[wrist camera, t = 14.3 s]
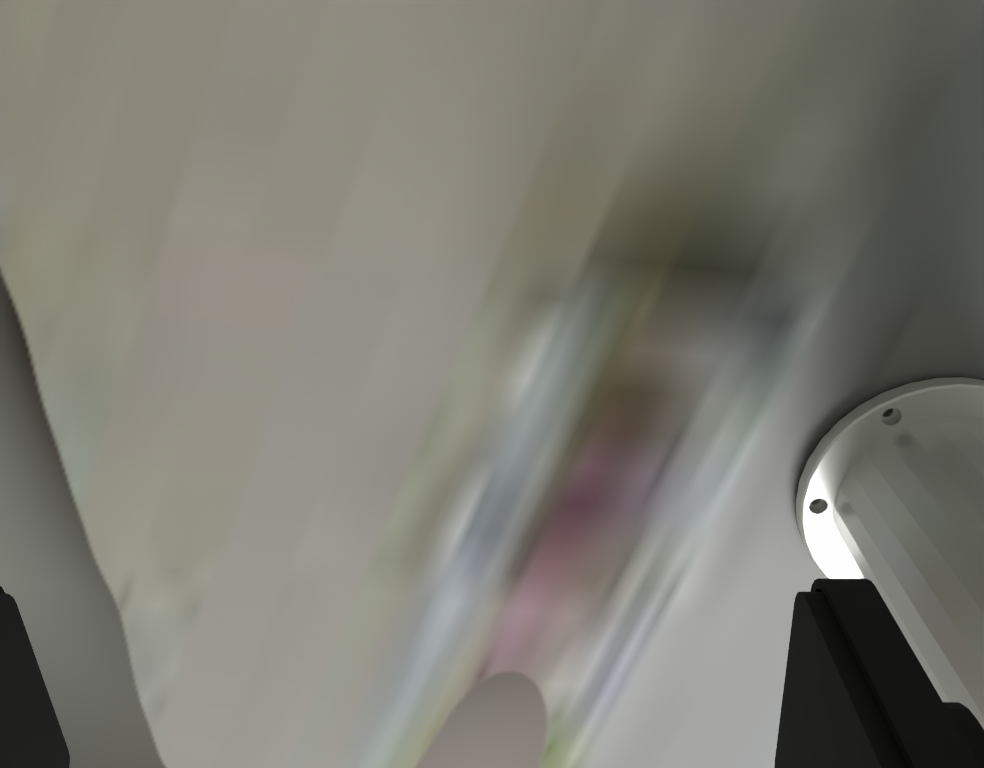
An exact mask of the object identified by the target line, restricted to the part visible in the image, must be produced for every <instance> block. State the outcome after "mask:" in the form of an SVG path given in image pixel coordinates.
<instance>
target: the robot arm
mask: <svg viewBox="0 0 984 768" xmlns="http://www.w3.org/2000/svg"><path fill="white" fill-rule="evenodd" d="M886 410H888V411H886ZM885 411H886V412H885ZM796 516H797V524H798V528H799V531H800V534H801V537H802V541H803V543H804V545H805V547H806V548H807V550H808V552H809V555H810V557H811V559H812V560H813V561H814V563H815V564H816V565H817V567H818V568H819V569H820V571H821V572H822V573H823V575H824V576H826V577H827V578H828V579H816V580H815V581H814V583H813V584H812V588H811V592H799V593H797V595H796V598H795V603H794V611H793V619H792V627H791V635H790V643H789V651H788V660H787V668H786V676H785V684H784V692H783V700H782V708H781V716H780V724H779V733H778V741H777V749H776V757H775V768H984V380H979V379H972V378H966V377H955V378H934V379H929V380H923V381H918V382H912V383H908V384H906V385H903V386H900V387H897V388H894V389H891V390H889V391H886V392H883V393H881V394H879V395H878V396H876V397H874V398H872V399H870V400H868V401H866V402H865V403H863V404H861V405H859V406H858V407H857V408H855V409H854V410H853V411H851V412H850V413H849V414H847V415H846V416H845V417H843V418H842V419H841V420H839V421H838V422H837V423H836V424H835V425H834V426H833V428H832V429H831V430H830V431H829V432H828V433H827V434H826V435H825V436H824V437H823V438H822V439H821V440H820V442H819V444H818V445H817V447H816V448H815V450H814V451H813V453H812V454H811V456H810V457H809V459H808V461H807V463H806V466H805V468H804V471H803V473H802V476H801V478H800V480H799V486H798V491H797V497H796ZM69 763H70V756H69V751H68V748H67V745H66V742H65V739H64V736H63V734H62V731H61V728H60V725H59V722H58V720H57V717H56V714H55V711H54V708H53V706H52V703H51V700H50V697H49V694H48V691H47V688H46V686H45V683H44V680H43V678H42V674H41V672H40V669H39V666H38V663H37V660H36V657H35V655H34V652H33V649H32V646H31V643H30V641H29V638H28V635H27V632H26V629H25V626H24V624H23V621H22V618H21V615H20V612H19V609H18V607H17V604H16V602H15V600H14V598H13V597H12V596H11V595H9V594H6V593H5V592H4V590H3V589H2V587H1V586H0V768H69Z"/></svg>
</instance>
